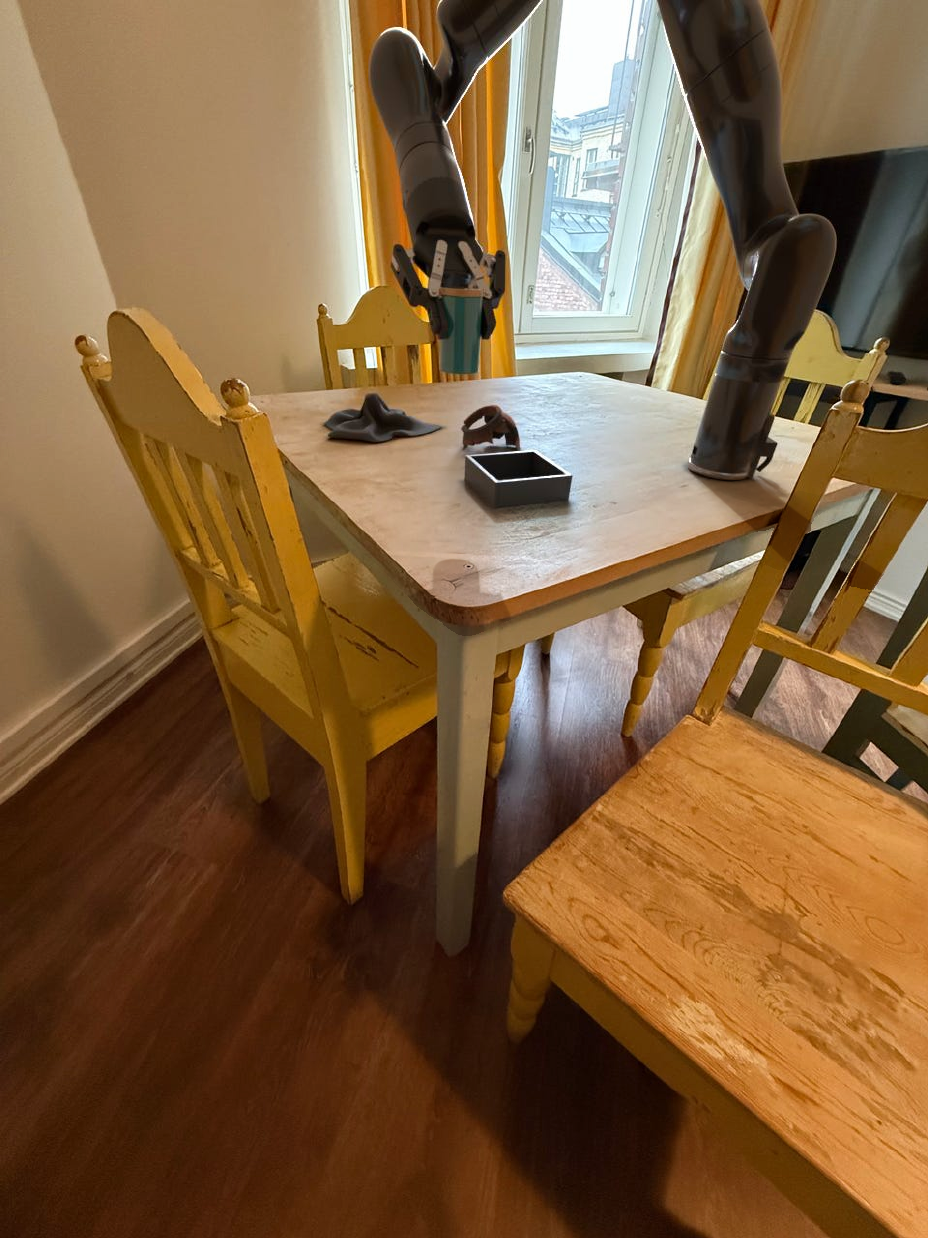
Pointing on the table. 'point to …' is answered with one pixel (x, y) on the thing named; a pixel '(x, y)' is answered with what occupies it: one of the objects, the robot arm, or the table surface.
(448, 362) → the spice jar
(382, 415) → the cloth
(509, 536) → the table surface
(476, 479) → the bin
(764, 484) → the table surface
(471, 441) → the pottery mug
